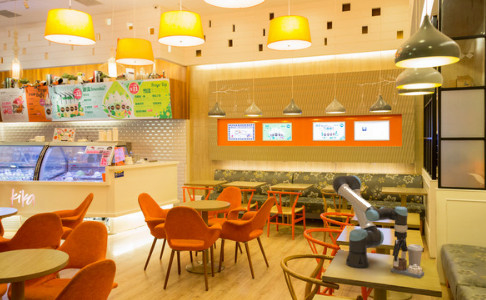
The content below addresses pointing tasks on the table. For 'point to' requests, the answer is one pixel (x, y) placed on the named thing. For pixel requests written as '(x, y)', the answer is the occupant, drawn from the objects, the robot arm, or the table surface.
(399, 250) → the robot arm
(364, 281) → the table surface
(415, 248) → the coffee cup
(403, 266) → the walnut gear
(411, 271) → the gear board
